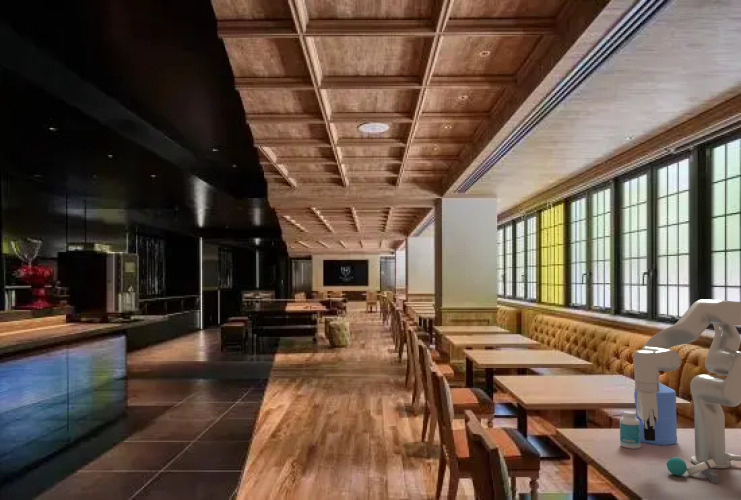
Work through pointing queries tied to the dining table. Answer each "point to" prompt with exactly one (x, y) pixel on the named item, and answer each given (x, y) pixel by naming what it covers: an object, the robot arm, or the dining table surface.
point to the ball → (676, 466)
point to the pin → (701, 467)
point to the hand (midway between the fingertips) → (649, 439)
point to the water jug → (662, 417)
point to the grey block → (711, 475)
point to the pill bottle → (629, 430)
